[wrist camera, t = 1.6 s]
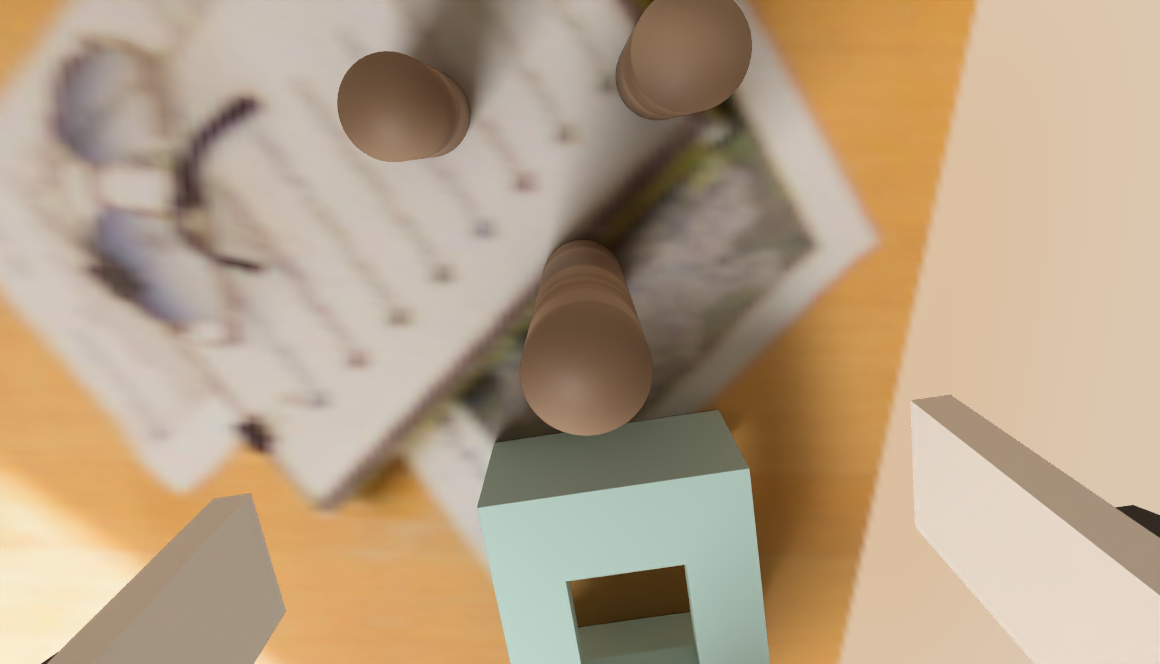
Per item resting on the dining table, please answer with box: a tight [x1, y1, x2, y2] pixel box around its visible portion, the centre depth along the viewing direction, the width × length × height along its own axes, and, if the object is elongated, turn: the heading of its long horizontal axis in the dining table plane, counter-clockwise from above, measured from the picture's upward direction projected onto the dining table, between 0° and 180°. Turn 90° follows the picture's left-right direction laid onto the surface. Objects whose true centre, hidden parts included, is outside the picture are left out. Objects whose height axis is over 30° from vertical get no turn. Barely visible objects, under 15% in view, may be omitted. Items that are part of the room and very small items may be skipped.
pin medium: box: [616, 0, 752, 120], centre depth 29 cm, size 4×4×10 cm
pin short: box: [337, 51, 470, 162], centre depth 31 cm, size 4×4×7 cm
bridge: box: [477, 410, 770, 664], centre depth 37 cm, size 14×12×7 cm
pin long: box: [520, 240, 653, 436], centre depth 29 cm, size 4×4×15 cm
